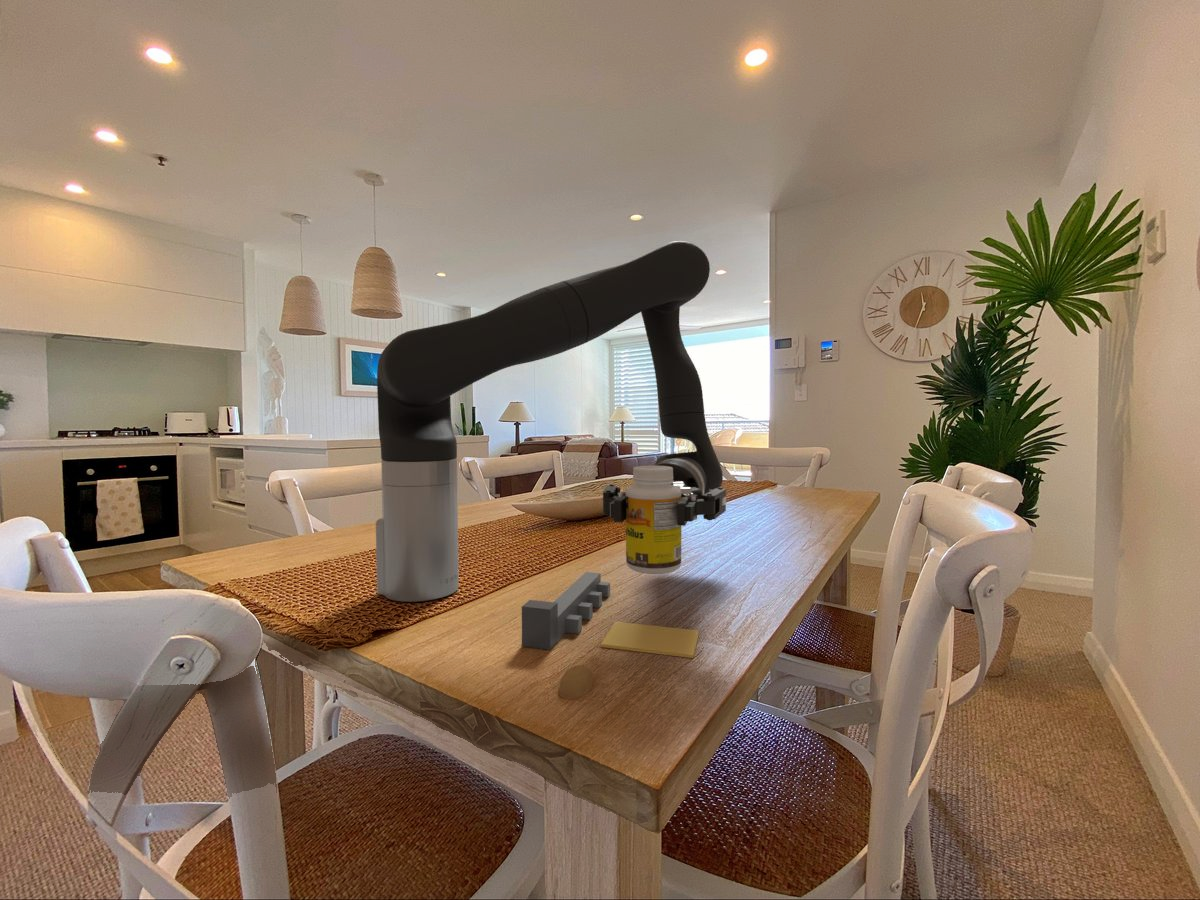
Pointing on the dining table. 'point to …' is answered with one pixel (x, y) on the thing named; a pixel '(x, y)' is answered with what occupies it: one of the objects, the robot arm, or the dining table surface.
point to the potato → (576, 682)
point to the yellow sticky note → (652, 639)
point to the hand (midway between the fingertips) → (649, 513)
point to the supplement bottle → (653, 521)
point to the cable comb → (562, 612)
